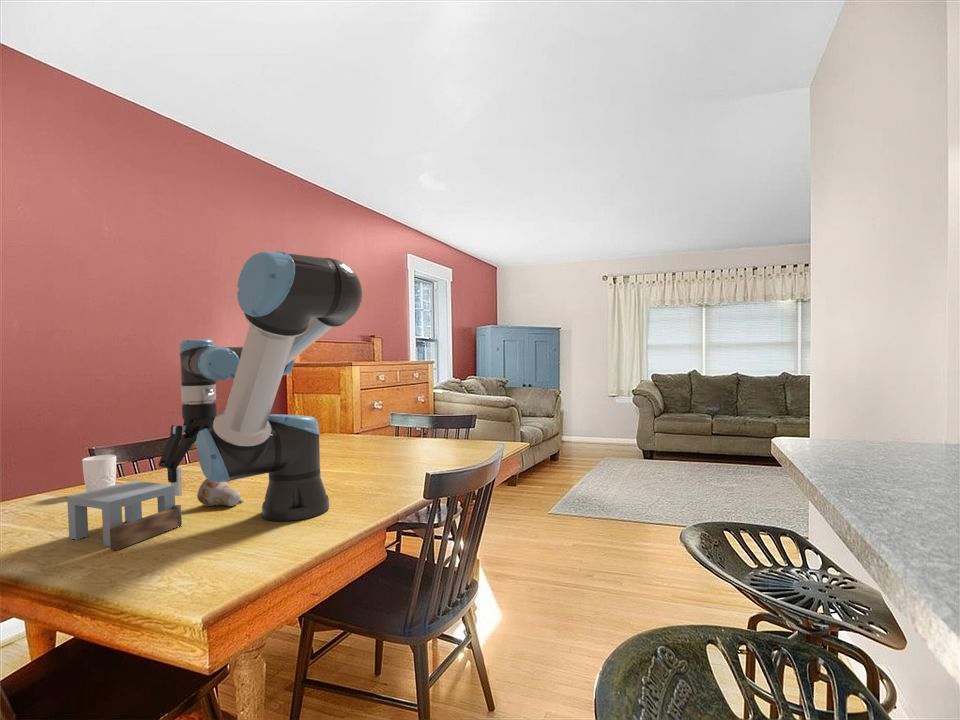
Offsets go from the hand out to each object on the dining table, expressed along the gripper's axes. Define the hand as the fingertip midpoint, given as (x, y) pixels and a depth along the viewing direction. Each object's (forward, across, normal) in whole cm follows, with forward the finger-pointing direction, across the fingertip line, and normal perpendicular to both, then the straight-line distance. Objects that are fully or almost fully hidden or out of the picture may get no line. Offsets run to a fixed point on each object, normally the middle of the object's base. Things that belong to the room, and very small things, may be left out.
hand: (202, 488), depth 132 cm
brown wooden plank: (+5, -19, -7) cm, 21 cm away
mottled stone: (+6, +4, -2) cm, 7 cm away
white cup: (+6, +2, +44) cm, 44 cm away
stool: (+5, -18, +2) cm, 19 cm away
